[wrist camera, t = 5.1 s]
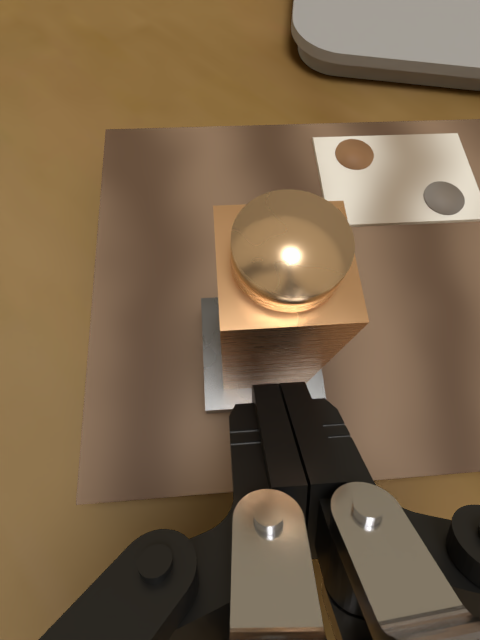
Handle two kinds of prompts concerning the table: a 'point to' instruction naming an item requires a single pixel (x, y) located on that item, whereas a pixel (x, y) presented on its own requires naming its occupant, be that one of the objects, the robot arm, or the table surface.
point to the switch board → (201, 282)
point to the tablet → (391, 40)
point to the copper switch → (279, 295)
